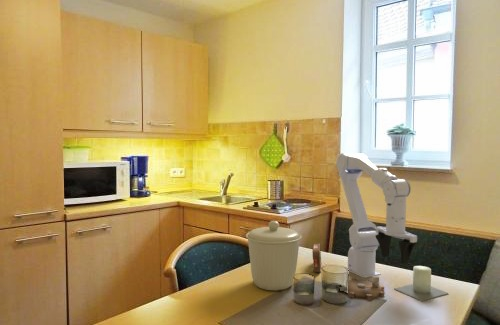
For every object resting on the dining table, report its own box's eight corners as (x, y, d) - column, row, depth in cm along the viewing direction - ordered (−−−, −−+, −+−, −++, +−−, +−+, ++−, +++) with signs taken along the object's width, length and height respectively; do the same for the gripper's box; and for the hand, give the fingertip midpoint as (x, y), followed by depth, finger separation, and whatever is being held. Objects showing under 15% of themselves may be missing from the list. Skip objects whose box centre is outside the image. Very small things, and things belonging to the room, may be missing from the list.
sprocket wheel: (346, 300, 109) (347, 286, 109) (333, 282, 123) (333, 270, 123) (393, 299, 110) (393, 285, 110) (374, 281, 124) (374, 269, 124)
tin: (320, 275, 131) (321, 252, 130) (311, 275, 131) (312, 251, 131) (321, 262, 145) (321, 241, 145) (313, 262, 146) (313, 240, 146)
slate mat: (394, 290, 118) (394, 288, 118) (420, 284, 123) (420, 282, 123) (421, 302, 109) (421, 300, 109) (448, 295, 114) (448, 293, 114)
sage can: (409, 289, 117) (409, 267, 117) (420, 286, 119) (421, 265, 119) (422, 294, 113) (423, 272, 112) (434, 292, 115) (434, 269, 114)
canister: (236, 290, 117) (236, 224, 116) (257, 272, 133) (257, 214, 132) (292, 300, 110) (293, 229, 109) (306, 279, 127) (307, 218, 126)
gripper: (369, 214, 122) (368, 255, 123) (406, 222, 110) (404, 268, 110) (385, 212, 126) (384, 252, 126) (422, 220, 113) (421, 264, 113)
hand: (394, 259), depth 118 cm, fingers open, 7 cm apart
